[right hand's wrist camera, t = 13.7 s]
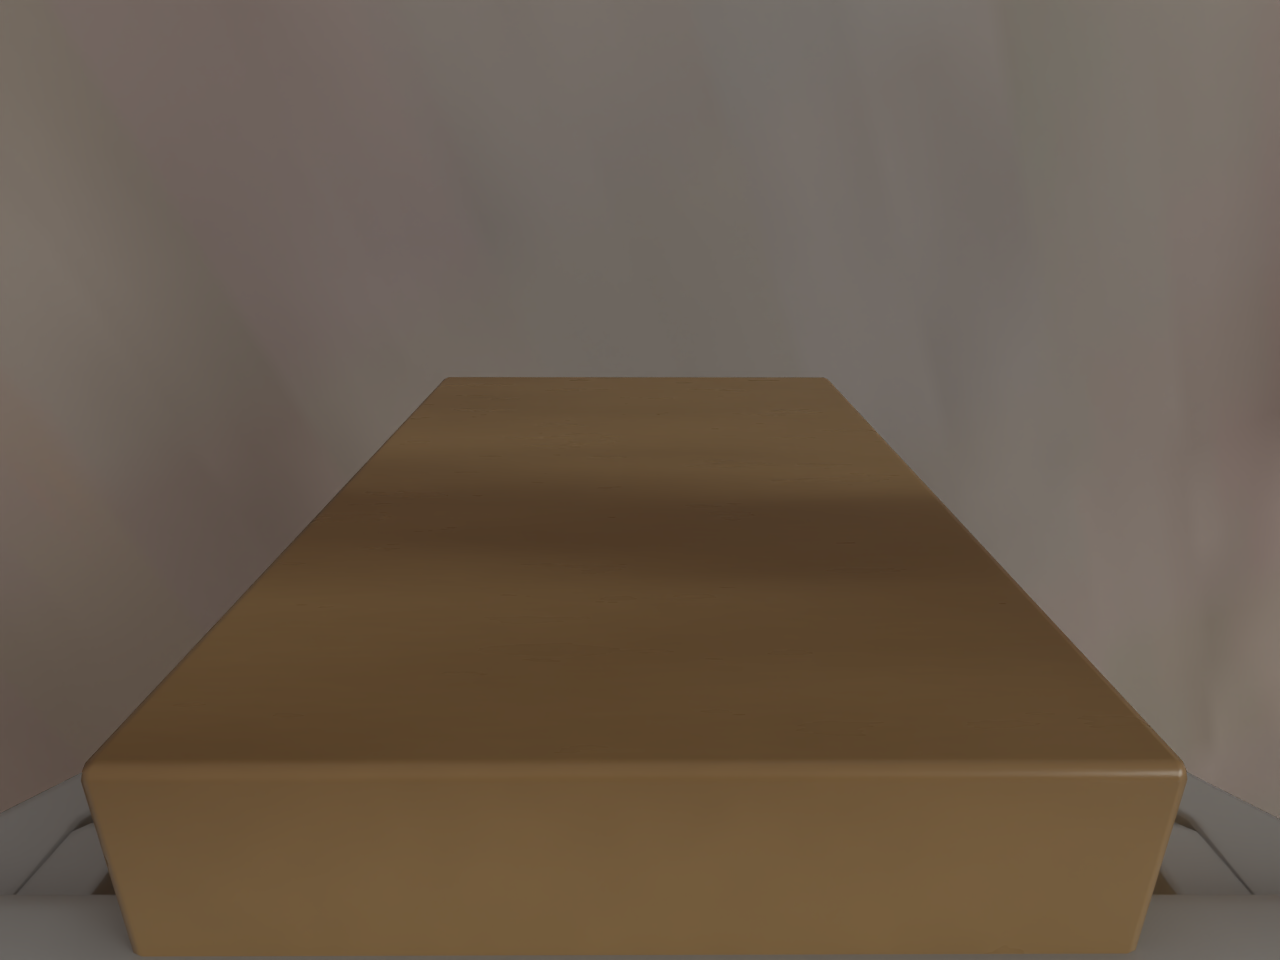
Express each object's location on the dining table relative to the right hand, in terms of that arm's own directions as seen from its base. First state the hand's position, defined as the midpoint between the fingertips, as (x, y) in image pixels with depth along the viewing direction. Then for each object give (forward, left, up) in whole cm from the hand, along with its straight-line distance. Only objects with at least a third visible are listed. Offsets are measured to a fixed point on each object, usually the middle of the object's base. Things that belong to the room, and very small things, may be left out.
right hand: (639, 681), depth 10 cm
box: (+7, +7, -4) cm, 11 cm away
